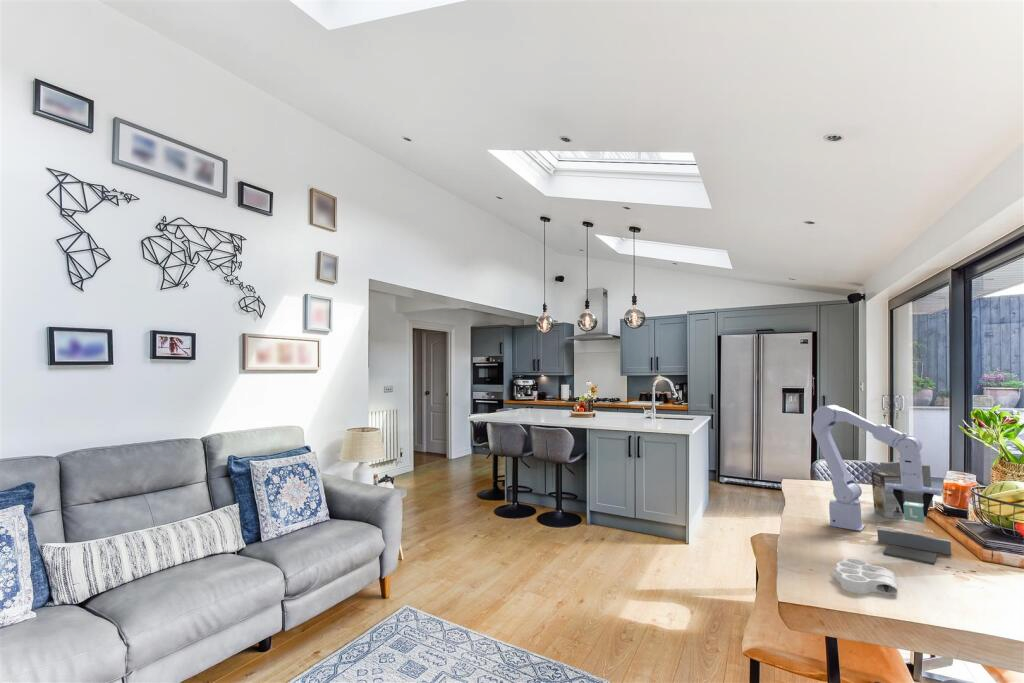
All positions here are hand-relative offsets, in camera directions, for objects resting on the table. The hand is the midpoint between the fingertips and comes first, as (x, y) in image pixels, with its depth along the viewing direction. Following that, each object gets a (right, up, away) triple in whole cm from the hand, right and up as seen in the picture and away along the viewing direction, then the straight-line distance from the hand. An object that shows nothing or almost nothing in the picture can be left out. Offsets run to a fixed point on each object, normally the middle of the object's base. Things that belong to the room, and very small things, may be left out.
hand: (914, 514), depth 161 cm
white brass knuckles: (-39, -8, -29) cm, 49 cm away
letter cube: (0, -2, 0) cm, 2 cm away
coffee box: (+12, -10, +27) cm, 31 cm away
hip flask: (+27, -10, +36) cm, 46 cm away
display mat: (-12, -8, -12) cm, 19 cm away
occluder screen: (-6, -8, -7) cm, 12 cm away
